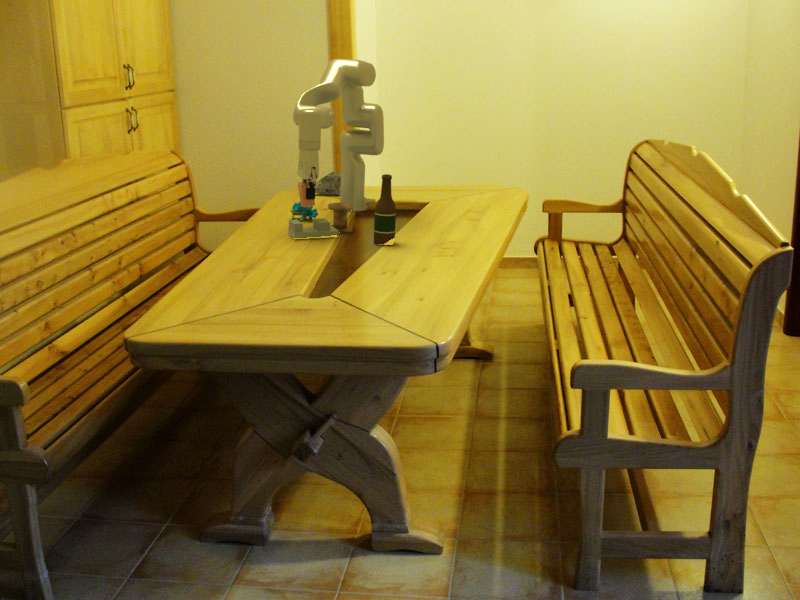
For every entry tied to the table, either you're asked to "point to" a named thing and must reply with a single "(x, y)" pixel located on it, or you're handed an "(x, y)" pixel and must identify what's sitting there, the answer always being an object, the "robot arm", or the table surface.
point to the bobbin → (341, 216)
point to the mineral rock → (329, 184)
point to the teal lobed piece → (303, 211)
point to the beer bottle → (385, 213)
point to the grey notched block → (311, 229)
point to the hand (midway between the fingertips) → (308, 197)
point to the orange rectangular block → (304, 195)
